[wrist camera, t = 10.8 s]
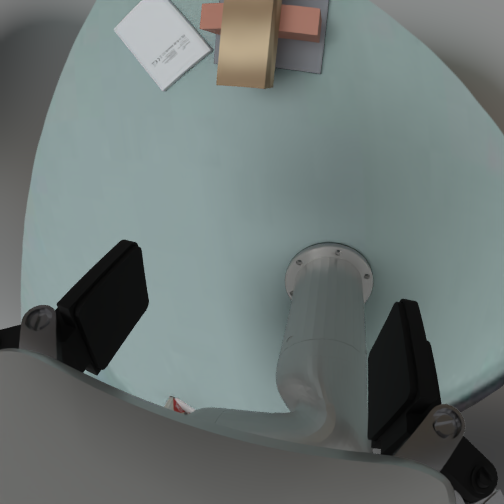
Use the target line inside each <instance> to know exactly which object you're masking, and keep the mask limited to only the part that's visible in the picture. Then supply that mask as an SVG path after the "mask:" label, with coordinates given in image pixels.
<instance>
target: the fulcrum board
mask: <svg viewBox="0 0 504 504" xmlns="http://www.w3.org/2000/svg"><path fill="white" fill-rule="evenodd" d="M328 3H329V0H282V5H281V15H280V25H279V34H278V44H277V53H276V63H275V68H282V69H290V70H298V71H305V72H311V73H318V74H321V66H322V58H323V50H324V41H325V32H326V23H327V13H328ZM223 4H224V0H220V1H219V3H209V4H202V11H201V22H200V29H202V30H205V31H209V32H212V33H215V34H216V42H215V54H214V64H218V58H219V46H220V35H221V24H222V14H223Z"/></svg>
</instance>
